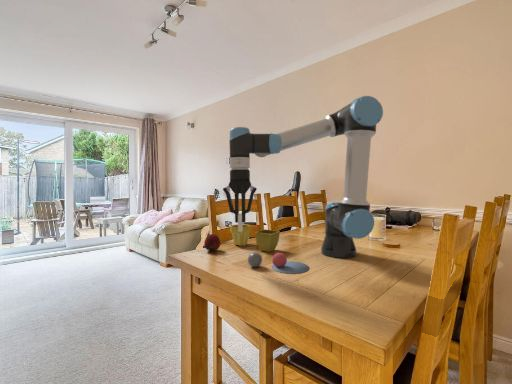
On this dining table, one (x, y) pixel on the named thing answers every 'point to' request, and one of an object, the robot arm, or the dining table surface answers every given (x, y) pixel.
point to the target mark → (292, 267)
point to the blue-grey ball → (254, 259)
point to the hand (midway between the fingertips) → (240, 230)
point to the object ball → (279, 260)
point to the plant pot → (240, 234)
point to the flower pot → (267, 239)
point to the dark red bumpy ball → (212, 242)
